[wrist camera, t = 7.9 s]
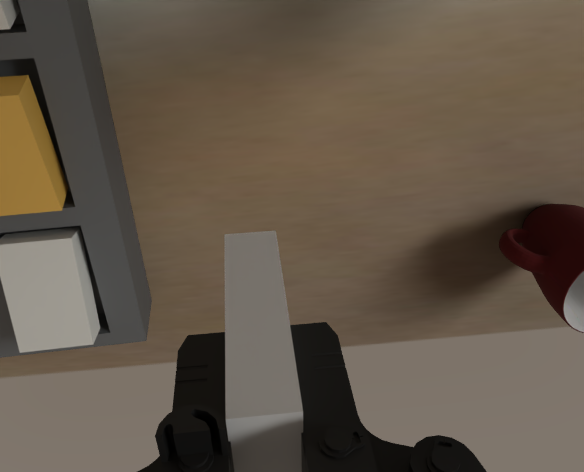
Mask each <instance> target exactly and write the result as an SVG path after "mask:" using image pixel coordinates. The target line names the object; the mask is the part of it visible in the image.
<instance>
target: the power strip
mask: <svg viewBox="0 0 584 472" xmlns="http://www.w3.org/2000/svg"><path fill="white" fill-rule="evenodd" d="M16 1H17V4H18V7H19V10H20V11H19V13H18V15H17V17H16V19H15V21H14V23H13V25H12V27H11V29H4V30H0V77H7V76H22V75H28V76H29V79H30V81H31V84H32V87H33V90H34V93H35V95H36V98H37V101H38V104H39V107H40V110H41V112H42V115H43V118H44V121H45V124H46V126H47V129H48V132H49V135H50V138H51V141H52V143H53V146H54V149H55V152H56V155H57V157H58V160H59V163H60V166H61V169H62V172H63V174H64V177H65V180H66V183H67V186H68V191H67V194H66V198H65V202H64V205H63V209H62V211H51V212H40V213H29V214H18V215H7V216H0V238H2V237H3V236H4V235H5V234H10V233H21V232H32V231H42V230H53V229H64V228H75V227H80V229H81V234H82V239H83V244H84V249H85V254H86V259H87V264H88V269H89V274H90V279H91V284H92V289H93V294H94V299H95V304H96V309H97V314H98V319H99V324H100V330H99V332H98V335H97V337H96V339H95V342H94V344H93V345H84V346H76V347H67V348H58V349H49V350H40V351H32V352H23V353H20V352H19V348H18V344H17V340H16V336H15V332H14V329H13V325H12V321H11V317H10V313H9V309H8V305H7V302H6V298H5V294H4V290H3V286H2V282H1V278H0V357H9V356H18V355H26V354H35V353H44V352H53V351H61V350H70V349H79V348H88V347H96V346H105V345H114V344H123V343H131V342H140V341H146V340H147V332H148V325H149V317H150V310H151V302H152V300H151V296H150V291H149V286H148V282H147V277H146V272H145V268H144V263H143V258H142V254H141V249H140V244H139V240H138V235H137V230H136V226H135V221H134V216H133V212H132V207H131V202H130V198H129V193H128V188H127V184H126V179H125V174H124V170H123V165H122V161H121V156H120V151H119V147H118V142H117V137H116V133H115V128H114V123H113V119H112V114H111V109H110V105H109V100H108V95H107V91H106V86H105V81H104V77H103V72H102V67H101V63H100V58H99V53H98V49H97V44H96V40H95V35H94V30H93V26H92V21H91V16H90V12H89V7H88V2H87V0H16Z"/></svg>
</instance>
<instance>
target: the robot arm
mask: <svg viewBox="0 0 584 472" xmlns="http://www.w3.org/2000/svg"><path fill="white" fill-rule="evenodd" d="M155 437H156V441H157V445H158V450H159V454H160V456H159V457H158V458H157V459H156V460H155V461H154V462H153V463H151V464H150V465H149V466H147V467H145V468H144V469H142V470H140V471H138V472H486V470H485V469H484V468H483V466H482V465H481V463H480V462H479V461H478V459H477V458H476V457H475V455H474V454H473V453H472V452H471V451H470V450H469V449H468V448H467V447H466V446H465V445H464V444H462V443H461V442H459V441H457V440H455V439H453V438H450V437H445V436H439V435H438V436H431V437H426V438H424V439H423V440H421V441H419V442H417V443H416V445H415V446H414V447H409V446H404V445H399V444H394V443H390V442H387V441H383V440H381V439H379V438H378V437H376V436H374V435H373V434H371V433H370V432H369V431H368V430H366V428H365V427H364V426H363V424H362V423H361V421H360V419H359V416H358V414H357V410H356V406H355V402H354V398H353V394H352V390H351V386H350V383H349V378H348V375H347V370H346V368H345V363H344V359H343V355H342V351H341V347H340V343H339V339H338V335H337V334H336V333H335V332H334V331H333V330H332V328H331V327H330V326H329V325H328V324H327V323H326V322H322V323H311V324H299V325H290V322H289V315H288V309H287V302H286V296H285V289H284V282H283V276H282V269H281V263H280V256H279V249H278V243H277V236H276V231H266V232H253V233H239V234H225V332H221V333H209V334H197V335H188V336H187V338H186V339H185V341H184V342H183V344H182V345H181V347H180V349H179V350H178V358H177V371H176V379H175V389H174V400H173V410H172V412H171V413H169V414H168V415H167V416H166V417H165V418H164V419H163V421H162V422H161V423H160V424H159V426H158V429H157V432H156V435H155Z"/></svg>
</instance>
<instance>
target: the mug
mask: <svg viewBox="0 0 584 472" xmlns="http://www.w3.org/2000/svg"><path fill="white" fill-rule="evenodd" d="M518 243H522V246H521V245H519V244H518ZM499 247H500V250H501V252H502V253H503V254H504V256H505V257H506V258H508V259H509V260H510V261H511V262H513V263H514V264H516V265H517V266H519V267H521V268H523V269H525V270H527V271H530V272H532V273H533V275H534V277H535V279H536V281H537V283H538V285H539V287H540V289H541V290H542V292H543V294H544V296H545V297H546V299H547V301H548V302H549V303H550V305H551V306H552V307H553V308H554V310H555V311H556V312H557V313H558V314H559V315H560V317H561V318H562V319H563V320H564V321H565V322H566V323H567V324H568V325H569V326H570V327H571V328H573V329H575V330H577V331H579V332H582V333H584V208H583V207H580V206H575V205H566V204H547V205H543V206H541V207H539V208H537V209H535V210H534V211H532V212H531V213H530V214H529V215H528V217H527V218H526V219H525V221H524V223H523V227H522V229H509V230H507V231H506V232H505V233H504V234H503V235H502V236H501V238H500V241H499Z"/></svg>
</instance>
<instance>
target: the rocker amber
mask: <svg viewBox="0 0 584 472" xmlns="http://www.w3.org/2000/svg"><path fill="white" fill-rule="evenodd" d="M67 191H68V186H67V183H66V180H65V177H64V174H63V172H62V169H61V166H60V163H59V160H58V157H57V155H56V152H55V149H54V146H53V143H52V141H51V138H50V135H49V132H48V129H47V126H46V124H45V121H44V118H43V115H42V112H41V110H40V107H39V104H38V101H37V98H36V95H35V93H34V90H33V87H32V84H31V81H30V79H29V76H28V75H22V76H7V77H0V216H7V215H18V214H29V213H40V212H51V211H62V209H63V205H64V202H65V198H66V194H67Z"/></svg>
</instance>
